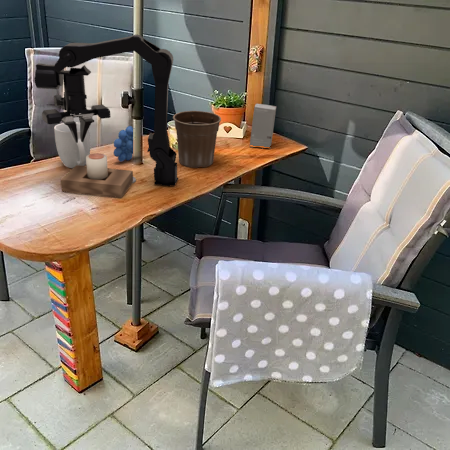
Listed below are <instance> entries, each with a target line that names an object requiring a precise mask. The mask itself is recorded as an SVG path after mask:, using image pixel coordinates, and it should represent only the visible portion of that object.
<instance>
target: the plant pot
mask: <svg viewBox="0 0 450 450" xmlns="http://www.w3.org/2000/svg"><path fill="white" fill-rule="evenodd" d="M172 120H173V121H174V127H175V128H174V130H176V131H175V132H176V142H177V151H178V152H177V153H178V155H177V156H178V162H179V163H180V165H182V166H184V167H187V168H193V169H195V168H196V169H197V168H201V167H202V168H207V167H209V166H212V165H213V164H214V158H215V151H216V143H217V135H218V132H219V130H220V128H219V127H220V123H221V121H222V117H221V116H220V115H219V114H216V113H213V112H209V111H203V110H202V111H201V110H186V111H180V112H177V113H175V114H174V115H173V116H172Z"/></svg>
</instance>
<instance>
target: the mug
mask: <svg viewBox="0 0 450 450" xmlns="http://www.w3.org/2000/svg"><path fill="white" fill-rule="evenodd" d="M75 122H76V126H77V135H78V143H76V142H75V140H74V137H73V135H72V133H71V131H70V129H69V127H68V126H67V125H65V124H64V123H63V122H62V123H61V122H60V123H58V124H56V125H54V128H53V131H54V141H55V145H56V146H55V148H56V150H57V153H58V157H59V159H60V161H61V162H62V164H63V165H64V166H65V167H66V168H69V169H73V168H74V167H75V166H76V165H80V166H87V165H86V156H87V155H89V154H91V147H92V146H91V145H92V144H91V132H90V128H89V129H88V131H87V133H86V136H85V139H84V141H83V142H81V138H80V121H79V122H77V121H75Z"/></svg>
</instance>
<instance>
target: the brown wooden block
mask: <svg viewBox="0 0 450 450" xmlns="http://www.w3.org/2000/svg"><path fill="white" fill-rule="evenodd" d="M133 173H134V172H133V170H131V169H130V170H129V169H120V168H119V169H118V168H110V167H109V168H108V177H106V178H104V179H97V180H96V179H90V178H88V176H87V165H85V166H80V165H76V166H75V167H74V168H71V170H70V171H68V172H67V173H66V174H65V175H64V176H63V177H62V178H61V179H60V187H61V192H62V193H67V194H76V195H87V196H96V197H106V198H115V199H116V198H117V199H122V198H123V197H124V195H126V193H127V192H128V190H129V188H131V186H132V185H133V184H132V182H133V177H134V176H133V175H134V174H133Z"/></svg>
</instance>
